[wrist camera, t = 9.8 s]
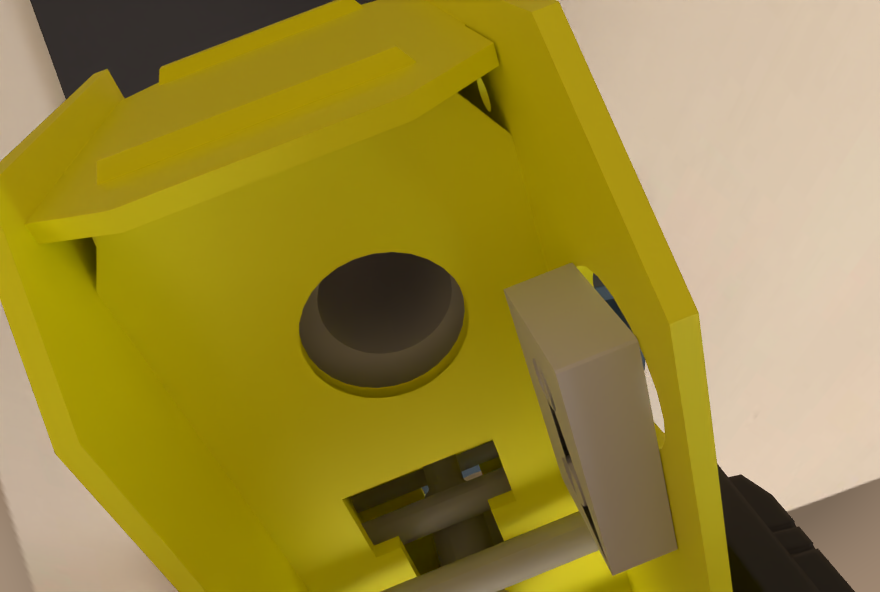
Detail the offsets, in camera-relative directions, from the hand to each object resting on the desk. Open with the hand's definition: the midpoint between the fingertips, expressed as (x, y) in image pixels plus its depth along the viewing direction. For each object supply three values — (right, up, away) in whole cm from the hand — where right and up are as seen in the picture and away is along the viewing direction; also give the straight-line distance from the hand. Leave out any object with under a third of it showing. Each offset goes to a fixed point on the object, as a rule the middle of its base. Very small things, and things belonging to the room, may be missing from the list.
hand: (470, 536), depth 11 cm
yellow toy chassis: (-1, +2, +4) cm, 5 cm away
